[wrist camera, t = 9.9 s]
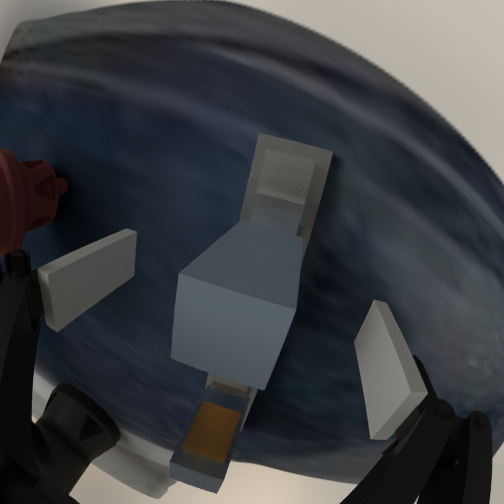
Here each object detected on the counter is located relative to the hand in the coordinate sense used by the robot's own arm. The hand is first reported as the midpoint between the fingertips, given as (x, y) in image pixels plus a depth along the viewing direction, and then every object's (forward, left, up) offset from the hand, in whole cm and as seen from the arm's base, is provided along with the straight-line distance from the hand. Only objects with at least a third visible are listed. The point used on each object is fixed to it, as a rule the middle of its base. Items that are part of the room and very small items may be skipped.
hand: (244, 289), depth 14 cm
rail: (-7, 0, -7) cm, 10 cm away
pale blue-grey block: (0, 0, -4) cm, 4 cm away
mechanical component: (0, +24, -7) cm, 25 cm away
